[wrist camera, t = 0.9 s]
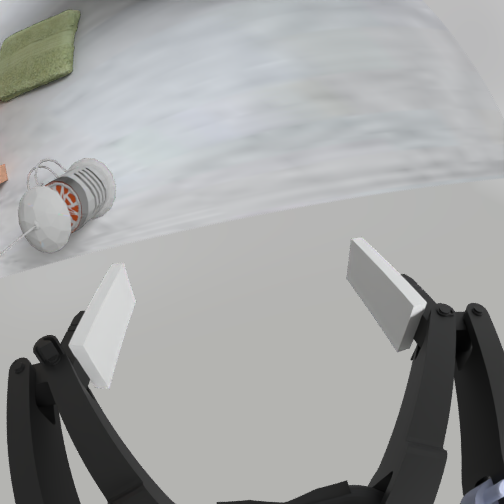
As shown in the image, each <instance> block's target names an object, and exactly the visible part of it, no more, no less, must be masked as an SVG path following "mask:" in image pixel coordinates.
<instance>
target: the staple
mask: <svg viewBox="0 0 504 504" xmlns="http://www.w3.org/2000/svg"><path fill="white" fill-rule="evenodd" d="M7 180H8V178H7V173H6V168H5V164H3V165H1V166H0V183H2V182H4V181H7Z"/></svg>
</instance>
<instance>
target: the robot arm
mask: <svg viewBox="0 0 504 504" xmlns="http://www.w3.org/2000/svg"><path fill="white" fill-rule="evenodd" d="M347 280H348V281H349V283H350V284H351V285H352V287H353V288H354V289H355V291H356V292H357V294H358V295H359V297H360V298H361V299H362V301H363V302H364V304H365V305H366V307H367V308H368V309H369V311H370V312H371V314H372V315H373V317H374V318H375V320H376V321H377V323H378V324H379V326H380V327H381V328H382V330H383V331H384V333H385V334H386V336H387V337H388V339H389V340H390V342H391V344H392V345H393V346H394V348H395V350H396V351H397V352H399V351H402V350H405V349H409V348H410V346H411V344H412V342H413V339H414V340H415V341H416V343H417V346H416V349H415V351H414V353H413V355H412V358H411V360H413V362H412V367H411V371H410V375H409V379H408V383H407V387H406V391H405V395H404V398H403V401H402V405H401V408H400V412H399V415H398V418H397V421H396V424H395V427H394V430H393V433H392V436H391V438H390V441H389V444H388V446H387V449H386V452H385V454H384V457H383V459H382V461H381V464H380V466H379V468H378V470H377V472H376V473H375V475H374V476H373V478H372V479H371V482H370V483H369V485H368V487H367V486H361V485H348V482H347V481H344V482H340V483H337V484H333V485H330V486H326V487H322V488H318V489H315V490H313V491H311V492H309V493H307V494H305V495H302V496H300V497H298V498H296V499H293V500H290V501H288V502H285V503H279V502H264V501H253V500H245V501H234V502H233V501H232V502H217V504H433V503H434V500H435V497H436V494H437V492H438V488H439V485H440V482H441V479H442V475H443V472H444V468H445V464H446V460H447V451H446V450H444V449H443V444H444V439H445V434H446V429H447V424H448V418H449V412H450V406H451V398H452V390H453V381H454V380H455V386H456V393H457V401H458V409H459V419H460V431H461V453H462V488H463V495H464V497H463V499H462V501H461V503H460V504H504V351H503V348H502V346H501V343H500V341H499V338H498V335H497V333H496V331H495V328H494V326H493V323H492V321H491V318H490V316H489V314H488V312H487V310H486V309H485V308H484V307H483V306H482V305H480V304H476V303H471V304H468V306H467V308H466V310H465V312H455V311H454V310H453V308H451V307H450V306H448V305H446V304H442V303H438V304H436V303H435V302H434V301H433V299H432V298H431V297H430V296H429V295H428V294H427V293H426V292H425V291H424V290H422V288H421V287H420V286H419V285H417V283H416V282H415V281H414V280H413V279H412V278H410V277H409V276H407V275H405V274H401V275H400V274H399V273H398V272H397V271H396V270H395V269H394V268H393V267H392V266H391V265H390V264H389V263H388V262H387V261H386V260H385V259H384V258H383V257H382V256H381V255H380V254H379V253H378V252H377V251H376V250H375V249H374V248H373V247H372V246H371V245H370V244H369V243H368V242H367V241H366V240H365V239H364V238H352V239H351V245H350V253H349V262H348V270H347ZM135 303H136V301H135V298H134V295H133V292H132V288H131V285H130V282H129V279H128V276H127V272H126V269H125V265H124V263H116V264H112V265H111V266H110V268H109V270H108V272H107V273H106V275H105V277H104V278H103V280H102V282H101V283H100V285H99V287H98V289H97V291H96V292H95V294H94V296H93V298H92V299H91V301H90V303H89V305H88V307H87V309H86V311H80V312H79V313H78V314H77V315H76V316H75V317H74V319H73V321H72V323H71V326H69V328H68V332H66V334H65V336H64V338H63V340H62V342H61V344H60V343H59V341H58V339H57V338H56V337H55V336H53V335H47V336H44V337H42V338H41V339H39V340H38V341H37V342H36V343H35V345H34V348H33V352H34V354H35V355H36V357H37V358H38V360H39V361H40V363H38V364H34V365H31V363H30V362H29V360H28V359H27V358H19V359H17V360H15V361H14V362H13V363H12V365H11V366H10V369H9V377H8V391H7V444H8V457H9V466H10V474H11V481H12V486H13V492H14V497H15V503H16V504H80V501H79V498H78V495H77V492H76V488H75V485H74V482H73V478H72V475H71V471H70V467H69V463H68V459H67V454H66V451H65V445H64V440H63V435H62V429H61V423H60V417H59V413H60V415H61V417H62V420H63V422H64V424H65V426H66V429H67V431H68V433H69V435H70V437H71V439H72V441H73V443H74V445H75V447H76V449H77V451H78V453H79V455H80V457H81V458H82V460H83V462H84V464H85V466H86V467H87V469H88V471H89V472H90V474H91V476H92V477H93V479H94V481H95V482H96V484H97V485H98V487H99V489H100V490H101V491H102V493H103V495H104V496H105V498H106V499H107V501H108V504H175V503H174V502H172V500H170V499H169V497H167V496H166V494H165V493H164V492H163V491H162V490H161V489H160V488H159V487H158V485H157V484H156V483H155V482H154V481H153V480H152V479H151V477H150V476H149V475H148V474H147V473H146V471H145V470H144V469H143V468H142V466H141V465H140V464H139V463H138V461H137V460H136V459H135V458H134V456H133V455H132V454H131V452H130V451H129V449H128V448H127V447H126V445H125V444H124V443H123V441H122V440H121V438H120V437H119V436H118V434H117V432H116V431H115V430H114V428H113V426H112V425H111V423H110V422H109V420H108V419H107V417H106V416H105V414H104V413H103V411H102V409H101V407H100V406H99V404H98V403H97V401H96V399H95V397H94V395H93V394H92V392H91V390H90V389H89V388H88V384H89V381H91V382H92V384H93V385H94V386H95V388H108V389H109V388H110V384H111V381H112V377H113V373H114V370H115V366H116V363H117V359H118V355H119V352H120V349H121V346H122V343H123V339H124V336H125V333H126V330H127V327H128V324H129V321H130V318H131V314H132V312H133V309H134V306H135Z"/></svg>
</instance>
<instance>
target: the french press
mask: <svg viewBox="0 0 504 504" xmlns="http://www.w3.org/2000/svg"><path fill="white" fill-rule="evenodd" d="M45 161H52V162H55V163H56V164H58V165H59V166H60V167H61V168H62V169H63V170H64V171H65V172H66V173H65V174H63V175H61V176H60V177H58V176H57V175H56V174H55V173H54V172H53V171H52V170H51V169H50V168H48V167H45V166H39V165H40V164H41V163H42V162H45ZM37 168H46V169H48V170H50V171H51V172H52V173H53V174H54V175H55V176H56V177H57V179H55V180H53V181H51V182H49V183H48V184H47V185H45V186H42V185H43V183H40V184H38V181H37ZM35 169H36V171H35V181H36V184H37V185H39V186H35V187H33V188H31V189H30V188H29V176H30V174H31V172H32V171H33V170H35ZM27 188H28V191H26V193H25V194H24V196H23V197H22V199H21V200H20V205H19V210H18V216H19V224H20V227H21V230H22V232H23V235H22V236H21V237H19V238H18V239H17V240H16V241H14V242H13V243H12V244H11V245H10V246H8V247H7V248H6V249H5V250H4V251H3V252H1V253H0V256H1V255H2V254H3V253H5V252H6V251H7V250H8V249H9V248H10V247H12V246H13V245H14V244H15V243H16V242H17V241H19V240H20V239H21V238H22V237H24V236H25V238H26V239H27V240H28V242H29V243H30V244H31V245H32V246H33V247H35V248H36V249H38V250H39V251H41V252H46V253H53V252H56V251H59V250H61V249H62V248H63V247H64V245H65V244H66V243H67V242H68V239H69V236H70V234H71V233H73V232H75V231H77V230H79V229H80V228H81V227H82V226H83V225H84V224H85V223H86V222H87V221H88V220H89V219H95V218H98V217H101V216H103V215H104V214H105V213H106V212H107V211H109V210H110V209H111V207H112V204H113V202H114V200H115V194H116V184H115V181H114V178H113V175H112V173H111V171H110V170H109V169H108V168H107V166H106V165H105V164H104V163H102V162H100V161H98V160H96V159H89V158H84V159H81V160H79V161H77V162H75V163H74V164H73V165H72V166H71V167H70V168H69V169H68V170H67V171H66V170H65V169H64V168H63V167H62V166H61V165H60V164H59V163H58V162H57V161H55V160H52V159H44V160H41V161H40V162H39V163H38V165H37V167H34V168H33V169H32V170H31V171H30V172H29V174H28V177H27ZM81 219H82V220H81Z"/></svg>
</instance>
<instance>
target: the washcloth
mask: <svg viewBox="0 0 504 504" xmlns="http://www.w3.org/2000/svg"><path fill="white" fill-rule="evenodd" d="M79 18H80V11H77V10H67V11H64V12H62V13H60V14H58V15H56V16H53V17H50V18H48V19H46V20H44V21H41V22H39V23H37V24H34V25H32V26H31V27H28V28H26V29H24V30H21V31H19V32H17V33H15V34H13V35H12V36H10V37H8V38H7V39H6V40H5V41H4V42H3V44H2V47H1V51H0V100H1V101H2V102H5V101H6V102H7V101H8V100H10V99H12V98H14V97H17V96H19V95H21V94H22V93H24V92H28V91H30V90H32V89H34V88H37V87H40V86H41V85H44V84H48V83H49V82H52V81H54V80H55V79H56V80H57V79H58V78H60V77H64V76H66V75H68V74H69V73H71V72H72V71H73V70H72V69H73V67H72V65H73V51H74V46H73V43H74V34H75V32H76V31H77V28H78V26H77V24H78V21H79Z"/></svg>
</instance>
